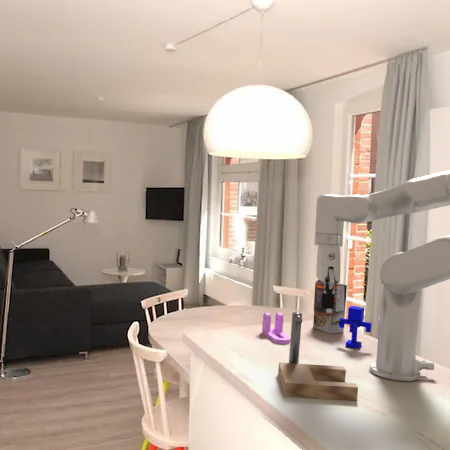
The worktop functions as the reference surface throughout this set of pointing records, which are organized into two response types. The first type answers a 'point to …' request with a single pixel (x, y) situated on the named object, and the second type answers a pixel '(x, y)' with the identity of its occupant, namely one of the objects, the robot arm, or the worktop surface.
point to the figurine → (355, 325)
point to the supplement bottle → (318, 300)
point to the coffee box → (332, 322)
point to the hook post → (295, 337)
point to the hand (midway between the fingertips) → (325, 305)
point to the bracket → (277, 333)
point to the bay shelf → (307, 386)
